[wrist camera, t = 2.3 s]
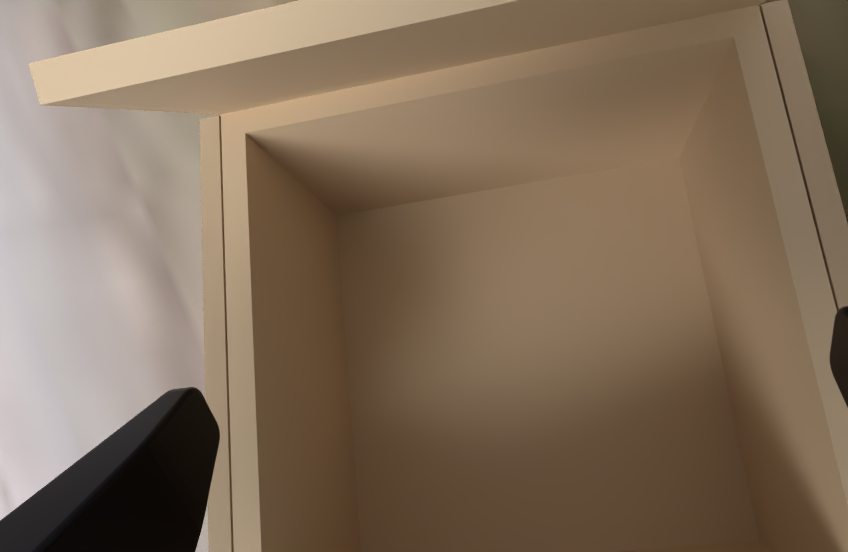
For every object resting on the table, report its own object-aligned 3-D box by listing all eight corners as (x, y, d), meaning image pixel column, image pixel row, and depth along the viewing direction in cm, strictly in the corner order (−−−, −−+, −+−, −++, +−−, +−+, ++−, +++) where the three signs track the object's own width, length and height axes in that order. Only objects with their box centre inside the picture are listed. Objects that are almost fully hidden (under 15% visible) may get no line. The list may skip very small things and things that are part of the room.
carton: (810, 580, 17) (971, 687, 10) (334, 607, 19) (211, 708, 13) (711, 140, 20) (787, -2, 13) (308, 209, 22) (199, 119, 15)
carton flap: (944, -93, 7) (943, -161, 7) (40, 105, 10) (26, 56, 9) (758, 4, 13) (756, -32, 13) (220, 114, 15) (213, 84, 15)
